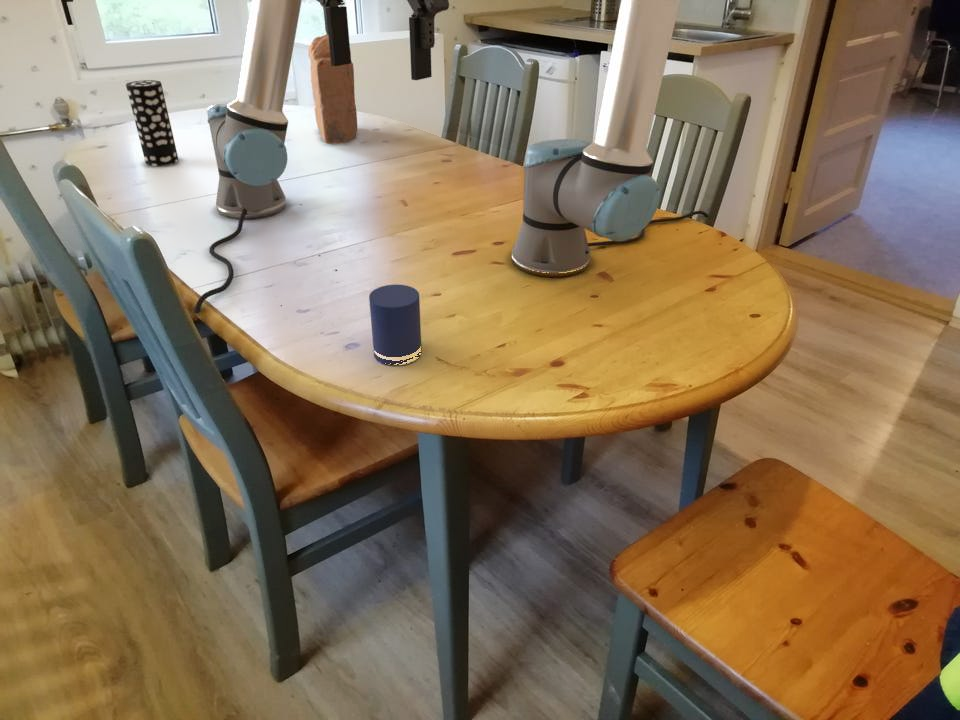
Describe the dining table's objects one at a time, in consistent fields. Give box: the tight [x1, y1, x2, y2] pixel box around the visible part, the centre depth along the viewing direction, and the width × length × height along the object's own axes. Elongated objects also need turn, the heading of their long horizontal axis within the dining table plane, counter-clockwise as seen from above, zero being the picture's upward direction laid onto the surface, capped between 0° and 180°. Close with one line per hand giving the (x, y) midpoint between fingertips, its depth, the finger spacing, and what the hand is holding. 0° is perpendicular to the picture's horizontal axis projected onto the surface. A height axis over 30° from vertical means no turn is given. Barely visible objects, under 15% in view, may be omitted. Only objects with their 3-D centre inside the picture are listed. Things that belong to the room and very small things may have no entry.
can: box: [368, 284, 423, 367], centre depth 103 cm, size 7×7×10 cm
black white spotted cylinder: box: [125, 79, 179, 167], centre depth 181 cm, size 8×8×20 cm
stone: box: [308, 33, 358, 145], centre depth 203 cm, size 22×11×28 cm, turn 18°
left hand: (24, 26), depth 114 cm, fingers open, 13 cm apart
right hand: (379, 71), depth 84 cm, fingers open, 13 cm apart
